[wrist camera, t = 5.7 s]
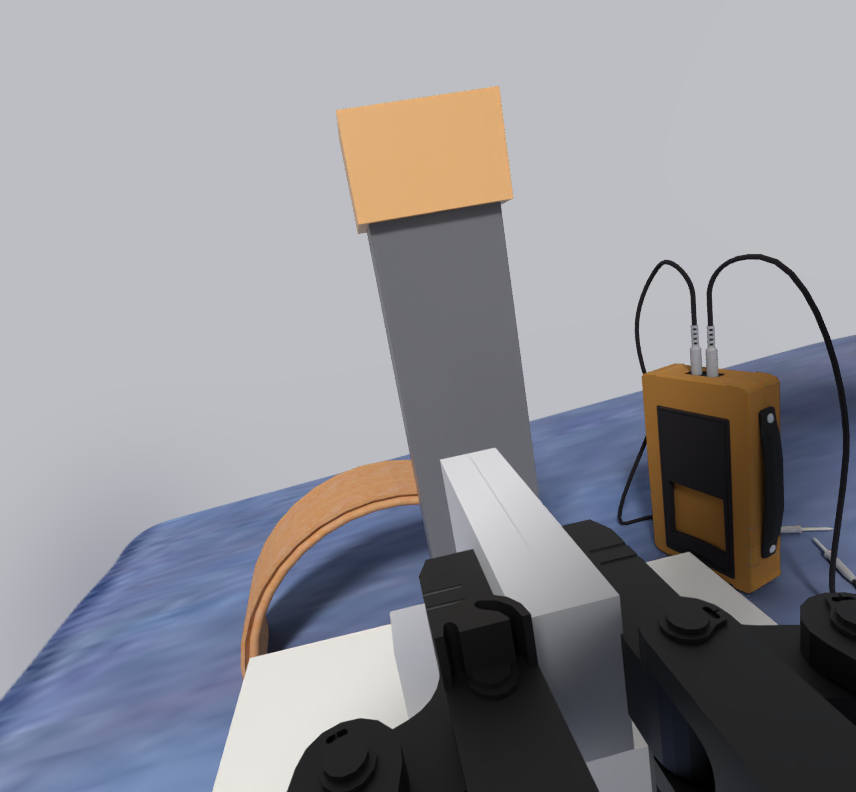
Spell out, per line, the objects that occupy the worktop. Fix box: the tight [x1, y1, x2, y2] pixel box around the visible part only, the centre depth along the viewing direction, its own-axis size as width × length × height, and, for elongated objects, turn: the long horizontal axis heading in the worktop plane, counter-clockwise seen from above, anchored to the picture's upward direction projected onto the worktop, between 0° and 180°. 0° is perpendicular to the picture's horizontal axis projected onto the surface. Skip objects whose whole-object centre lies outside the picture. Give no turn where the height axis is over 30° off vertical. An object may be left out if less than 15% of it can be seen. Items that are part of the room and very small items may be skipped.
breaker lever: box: [336, 86, 539, 559], centre depth 18 cm, size 5×3×20 cm
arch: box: [241, 460, 419, 680], centre depth 34 cm, size 6×20×10 cm, turn 103°
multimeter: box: [618, 254, 856, 593], centre depth 33 cm, size 15×10×20 cm
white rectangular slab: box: [212, 552, 778, 792], centre depth 21 cm, size 22×9×9 cm, turn 98°
